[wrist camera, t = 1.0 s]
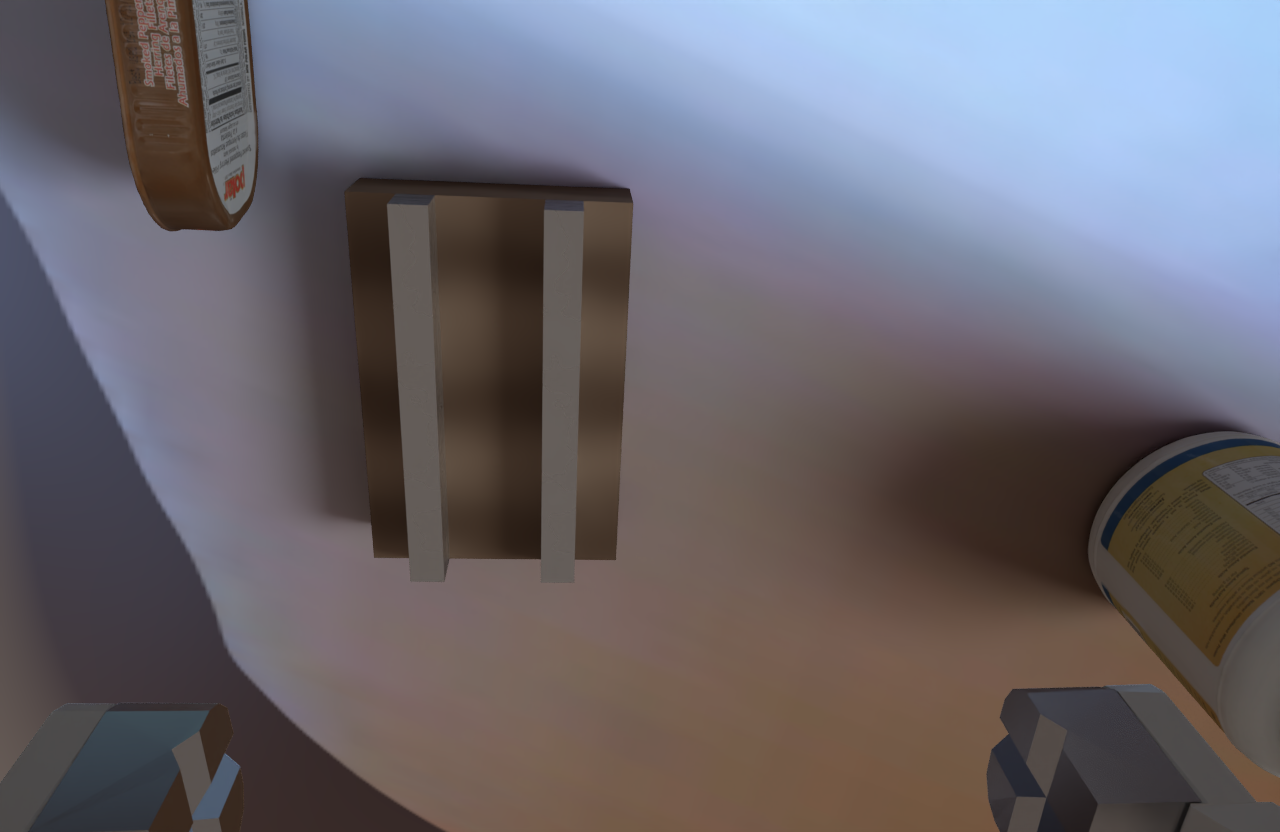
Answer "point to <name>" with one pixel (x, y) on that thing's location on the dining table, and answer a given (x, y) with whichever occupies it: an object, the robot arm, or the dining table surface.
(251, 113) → the tin
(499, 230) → the dock
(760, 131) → the dining table surface
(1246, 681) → the supplement tub
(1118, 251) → the dining table surface
